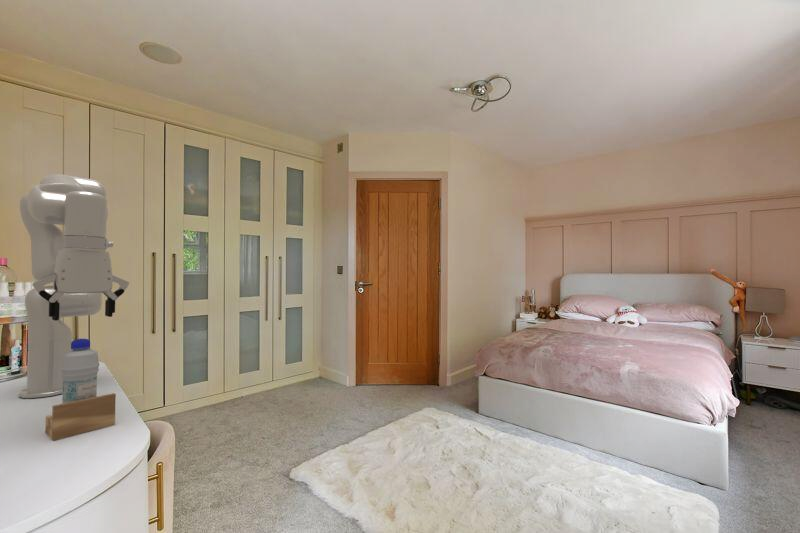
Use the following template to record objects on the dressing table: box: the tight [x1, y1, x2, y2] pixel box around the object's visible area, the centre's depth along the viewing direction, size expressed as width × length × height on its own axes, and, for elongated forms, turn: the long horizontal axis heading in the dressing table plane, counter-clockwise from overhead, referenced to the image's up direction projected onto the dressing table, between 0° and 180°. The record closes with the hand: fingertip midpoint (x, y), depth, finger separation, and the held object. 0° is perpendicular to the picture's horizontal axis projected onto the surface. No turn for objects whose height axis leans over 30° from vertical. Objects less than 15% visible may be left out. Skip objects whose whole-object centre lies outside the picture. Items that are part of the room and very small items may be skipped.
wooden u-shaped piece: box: [44, 392, 117, 441], centre depth 83 cm, size 8×11×7 cm
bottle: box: [61, 338, 100, 404], centre depth 84 cm, size 7×7×20 cm
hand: (83, 318), depth 86 cm, fingers open, 9 cm apart
